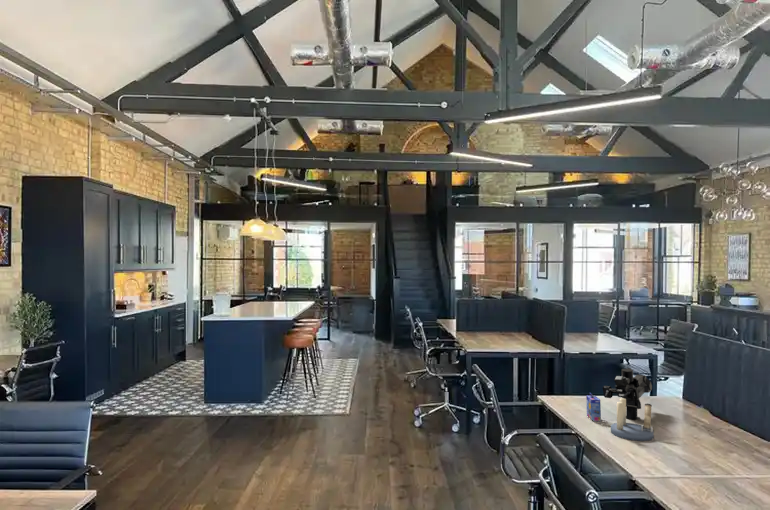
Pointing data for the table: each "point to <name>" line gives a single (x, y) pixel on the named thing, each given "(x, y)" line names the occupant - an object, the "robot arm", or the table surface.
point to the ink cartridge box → (593, 408)
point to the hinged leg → (647, 417)
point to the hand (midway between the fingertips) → (613, 397)
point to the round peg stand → (629, 426)
